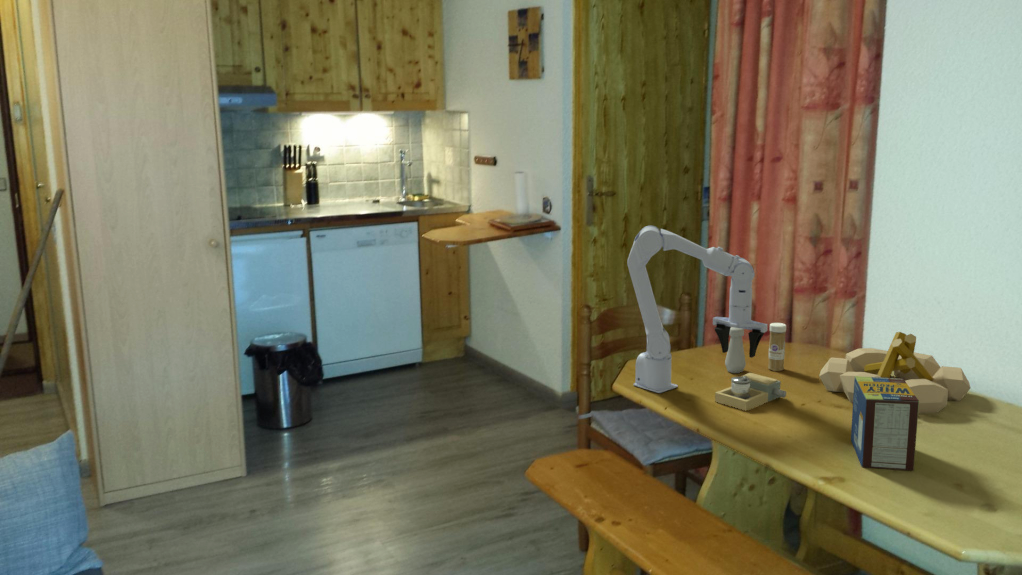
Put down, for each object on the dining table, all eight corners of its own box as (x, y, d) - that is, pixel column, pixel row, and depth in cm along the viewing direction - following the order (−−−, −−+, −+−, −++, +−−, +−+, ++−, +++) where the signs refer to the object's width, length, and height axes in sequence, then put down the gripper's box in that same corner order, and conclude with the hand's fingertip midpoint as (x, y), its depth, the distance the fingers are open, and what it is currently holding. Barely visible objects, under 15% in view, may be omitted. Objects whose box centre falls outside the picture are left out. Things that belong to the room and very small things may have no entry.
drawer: (714, 401, 221) (715, 384, 220) (748, 388, 231) (749, 371, 230) (756, 414, 212) (757, 395, 211) (789, 400, 221) (790, 382, 220)
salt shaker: (745, 374, 243) (747, 330, 240) (725, 373, 244) (726, 329, 241) (744, 368, 248) (746, 325, 246) (724, 367, 249) (725, 324, 247)
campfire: (928, 426, 202) (934, 357, 199) (798, 393, 227) (801, 331, 224) (986, 392, 225) (992, 329, 221) (862, 365, 250) (866, 308, 246)
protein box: (898, 443, 193) (904, 377, 189) (914, 471, 178) (920, 401, 175) (849, 440, 195) (853, 375, 192) (860, 467, 180) (865, 398, 177)
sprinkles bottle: (767, 370, 246) (769, 325, 243) (768, 366, 250) (770, 321, 247) (783, 372, 244) (786, 326, 241) (784, 367, 248) (786, 322, 246)
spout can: (726, 399, 221) (727, 375, 220) (738, 395, 224) (739, 371, 223) (741, 403, 217) (742, 379, 216) (753, 400, 220) (754, 376, 219)
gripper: (708, 304, 227) (706, 353, 230) (760, 311, 218) (758, 362, 221) (719, 299, 232) (718, 347, 235) (771, 306, 223) (769, 355, 226)
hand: (738, 354), depth 228 cm, fingers open, 7 cm apart
